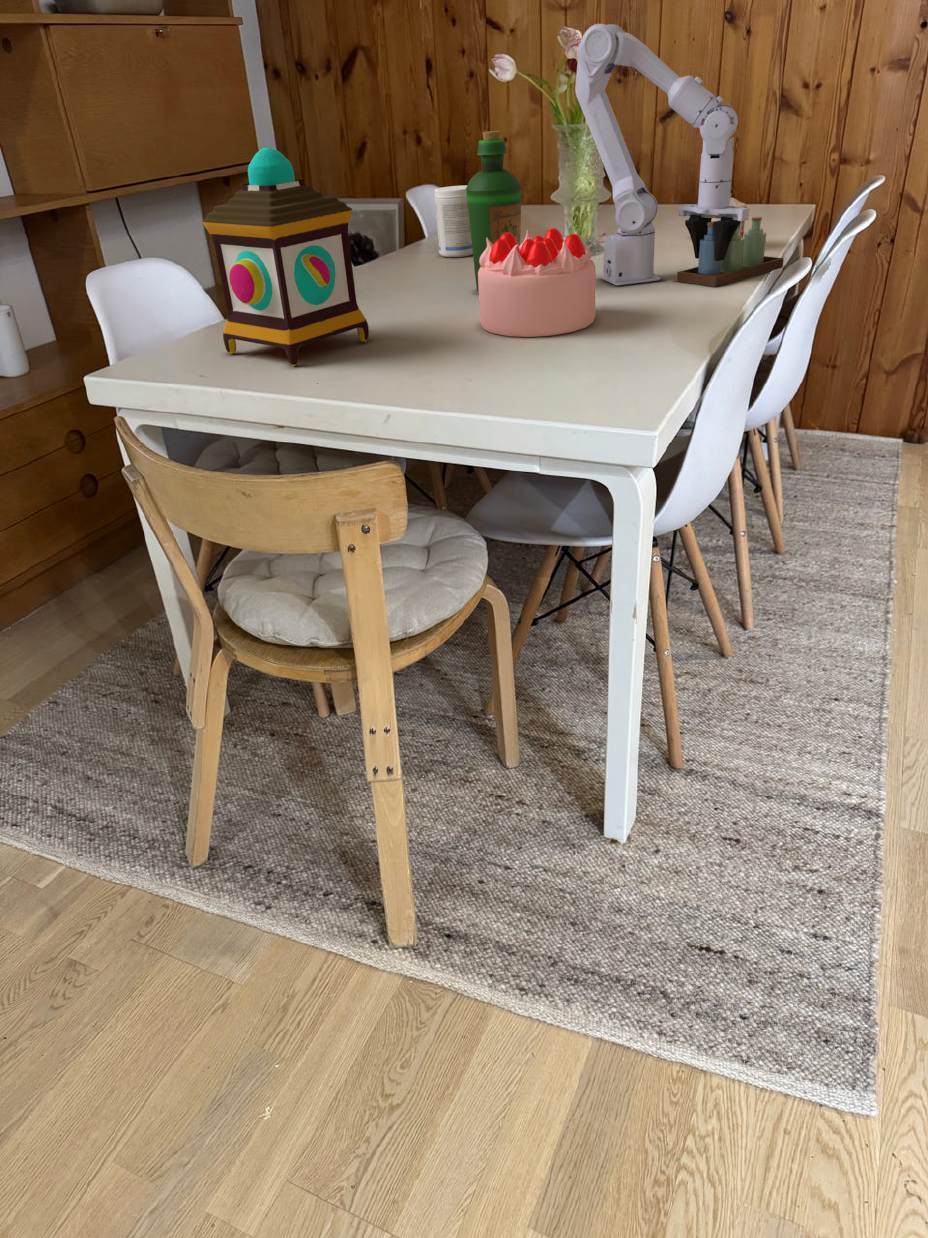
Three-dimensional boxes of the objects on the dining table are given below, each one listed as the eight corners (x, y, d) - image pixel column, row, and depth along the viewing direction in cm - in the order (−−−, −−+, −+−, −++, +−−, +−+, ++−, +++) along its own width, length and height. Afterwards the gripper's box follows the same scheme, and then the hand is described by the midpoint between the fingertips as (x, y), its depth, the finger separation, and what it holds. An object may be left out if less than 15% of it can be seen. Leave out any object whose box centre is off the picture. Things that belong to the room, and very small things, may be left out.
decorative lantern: (303, 327, 163) (274, 141, 148) (382, 340, 152) (360, 139, 136) (214, 355, 151) (172, 154, 135) (292, 371, 139) (257, 153, 124)
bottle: (520, 296, 174) (515, 131, 160) (466, 297, 176) (456, 135, 162) (528, 284, 183) (524, 127, 168) (476, 285, 185) (468, 131, 171)
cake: (464, 320, 160) (458, 234, 153) (565, 304, 166) (565, 220, 158) (507, 344, 145) (503, 250, 137) (618, 326, 150) (620, 234, 143)
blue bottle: (710, 275, 172) (714, 224, 167) (693, 272, 175) (696, 222, 170) (724, 271, 174) (728, 220, 169) (706, 269, 177) (710, 219, 172)
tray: (715, 286, 170) (716, 276, 169) (676, 281, 176) (677, 271, 175) (782, 267, 181) (783, 257, 180) (744, 262, 187) (744, 253, 186)
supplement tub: (486, 252, 217) (483, 185, 210) (458, 259, 212) (453, 190, 204) (459, 249, 224) (455, 184, 216) (430, 256, 218) (425, 189, 211)
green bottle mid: (733, 274, 176) (737, 224, 171) (715, 271, 179) (719, 222, 174) (746, 270, 178) (750, 221, 173) (728, 268, 181) (732, 219, 176)
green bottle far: (754, 268, 180) (759, 219, 175) (737, 265, 182) (741, 217, 178) (767, 264, 182) (772, 216, 177) (749, 262, 185) (754, 214, 180)
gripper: (670, 181, 169) (666, 258, 176) (734, 184, 159) (727, 266, 166) (694, 177, 173) (689, 252, 180) (759, 180, 163) (751, 259, 170)
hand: (709, 258), depth 173 cm, fingers closed on blue bottle, 4 cm apart
